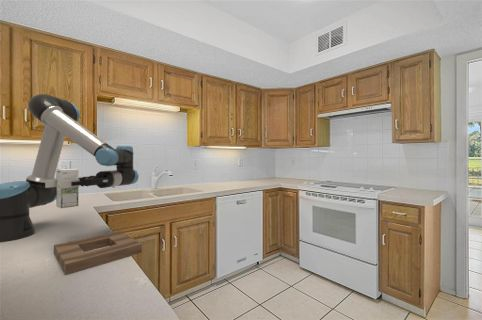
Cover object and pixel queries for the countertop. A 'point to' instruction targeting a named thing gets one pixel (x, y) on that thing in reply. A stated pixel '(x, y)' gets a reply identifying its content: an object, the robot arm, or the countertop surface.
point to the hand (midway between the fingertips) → (53, 184)
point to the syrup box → (66, 195)
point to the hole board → (95, 251)
